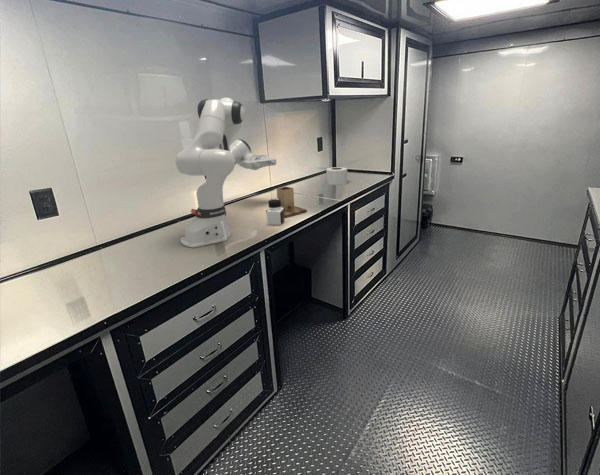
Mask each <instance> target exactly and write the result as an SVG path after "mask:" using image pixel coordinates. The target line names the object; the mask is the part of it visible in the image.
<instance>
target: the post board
mask: <svg viewBox="0 0 600 475" xmlns="http://www.w3.org/2000/svg"><path fill="white" fill-rule="evenodd" d="M268 210H269V209H266V210H265V212H266V214H267V211H268ZM307 212H308V209H306V208H302V207H299V206H295V205H294V210H291V211H288V212H284V219H287V218H291V217H294V216H298V215H302V214H305V213H307Z"/></svg>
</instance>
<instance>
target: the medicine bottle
mask: <svg viewBox="0 0 600 475" xmlns="http://www.w3.org/2000/svg"><path fill="white" fill-rule="evenodd" d="M268 208H269V209H267V210H268V211H267V213H266V220H267V223H266V224H267V226H282V225H283V223H284V222H285V219H286V218H284V208H281V200H279V199H277V198H273V199H272V198H271V199H269V200H268Z"/></svg>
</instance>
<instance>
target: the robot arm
mask: <svg viewBox="0 0 600 475" xmlns="http://www.w3.org/2000/svg"><path fill="white" fill-rule="evenodd" d="M197 117H198V118H199V122H198V125H197V126H198V127H197V130H196V133H195V136H194V137H193V140H192V141H191V142H190V143H189V144H188V146H187V147H185V148H184V149H183V150H181V151H179V152H177V154H176V158H175V166H176V169H177V170H178V172H180V174H183V175H187V176H191V177H192V176H193V177H194V176H196V177H197V176H205V182H204V183H202V184H201V185H199V186H198V188H197V189H196V194H195V195H196V199H197V208H196V209H195V208H191V210H190V212H191V213H192V214H193V215H195V217H194V218H193V219H192V220H191V221H190V222H189V223H188V224H187V225H186V226H185V229H184V236H183V237H182V236H181V237H180V240H179V241H180V242H179V243H180V244H182V246H185V247H188V248H192V249H193V248H199V247H203V246H209V245H214V244H217V243H222V242H227V240H228V238H230V237H231V236H232V233H231V232H232V231H231V230H230V228H229V224H228V222H227V221H228V220H227V211H226V205H225V204H224V192H223V188H224V187H223V186H224V184H225V181H226V179H227V178H228V176H229V175H230V174H232V172H233V171H234V169H235V167H236V166H235V165H236V164H237V165H238V166H239V167H241V168H243V169H248V170H254V171H258V170H260V169H263V168H264V167H265V168H267V167H272V166H276V165H277V158H275V157H271V156H268V155H266V154H265V155H264V154H263V155H261V154H256V153H255V154H253V153H252V148H251V146H250V145H249V143H248V142H247V141H245V140H244V139H240V138H237V139H235V140H234V141H233V142H232V140H233V139H234V137H235V136H236V135H237V133H238V132H239V131H240V129H241V126H242V123H243V121H244V118H245V109H244V105H243V104H242V103H241V102H239V101H237V100H233V99H232V98H230V97H226V96H225V97H222V98H220V99H218V98H217V99H215V98H214V99H208V98H207V99H202V100H200V101H199V102H198V104H197ZM231 142H232V143H231ZM217 147H218V148H217Z"/></svg>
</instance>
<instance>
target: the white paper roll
mask: <svg viewBox="0 0 600 475" xmlns="http://www.w3.org/2000/svg"><path fill="white" fill-rule="evenodd" d="M325 173H326V176H325V177H326V184H327V185H329V184H330V186H342V185H341V184H343V185H346V184H348V168H347V167H341V166H335V167H328V168H326V172H325Z"/></svg>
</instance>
